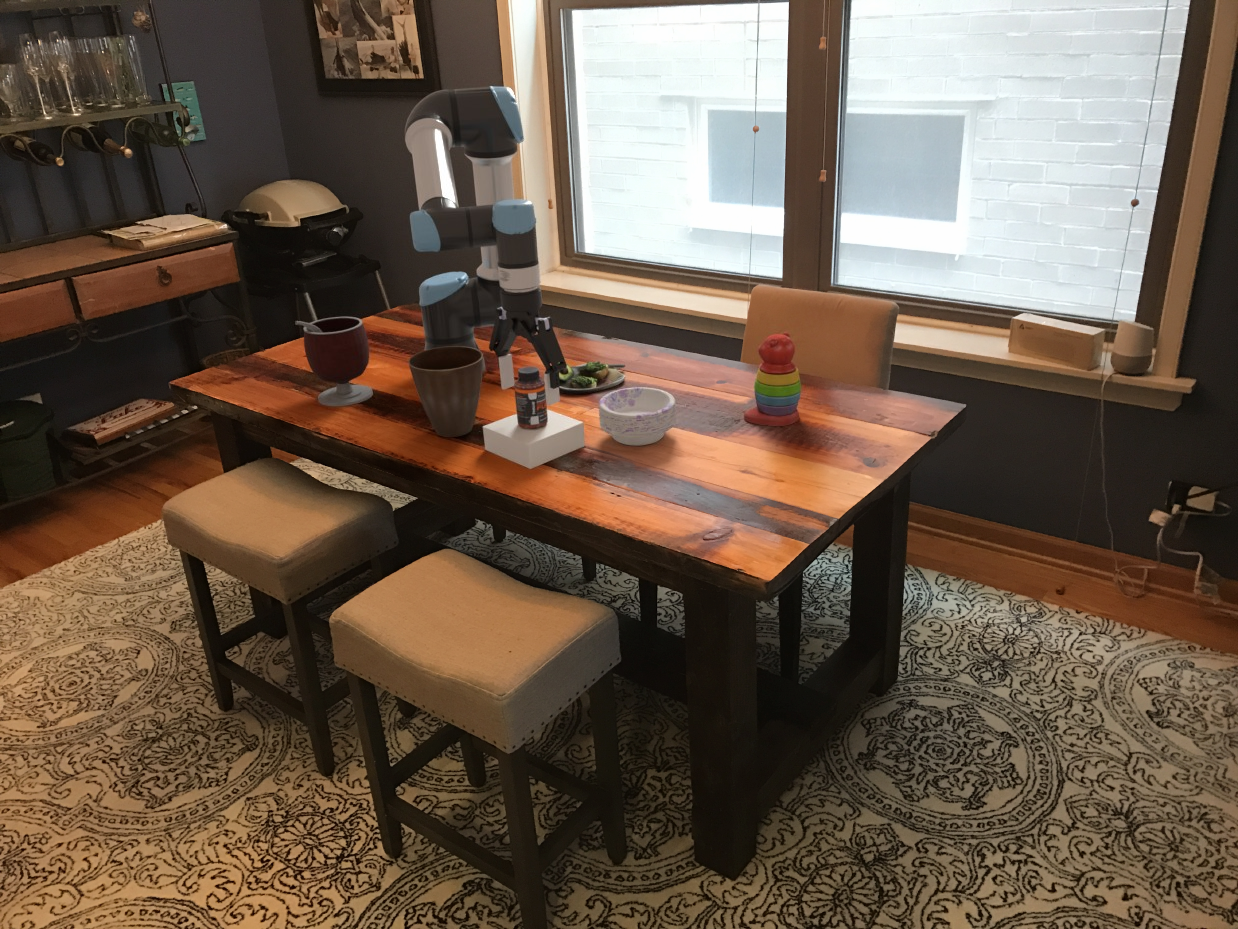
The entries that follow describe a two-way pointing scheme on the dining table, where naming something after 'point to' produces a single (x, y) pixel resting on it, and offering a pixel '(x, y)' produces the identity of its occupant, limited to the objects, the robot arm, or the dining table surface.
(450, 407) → the plant pot
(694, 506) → the dining table surface
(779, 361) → the stacking bear
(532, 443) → the white flat block
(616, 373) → the salad plate
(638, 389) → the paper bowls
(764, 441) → the dining table surface
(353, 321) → the mate gourd
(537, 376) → the supplement bottle
